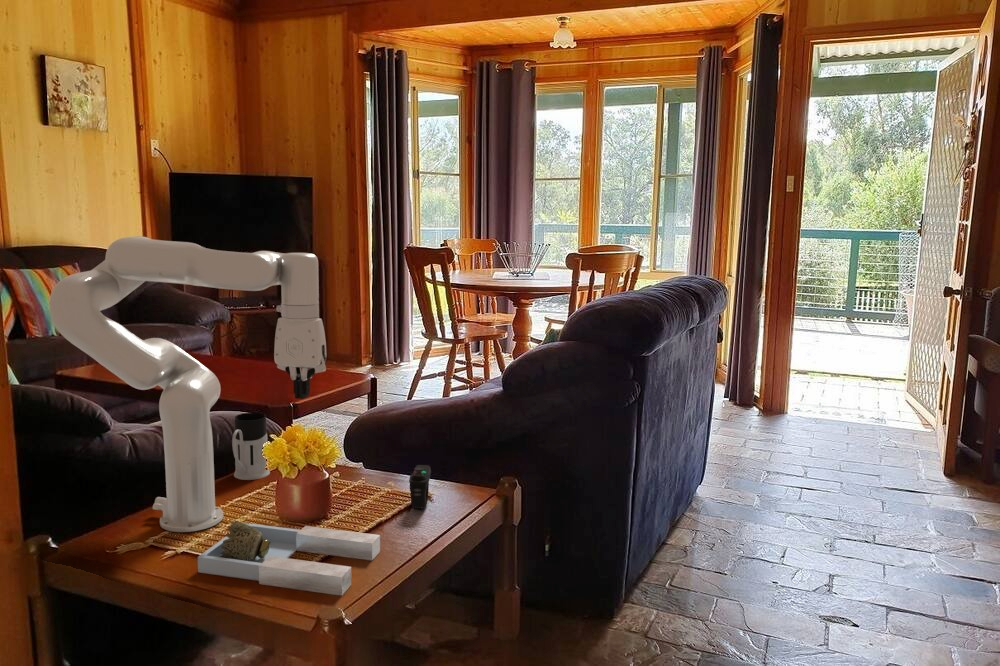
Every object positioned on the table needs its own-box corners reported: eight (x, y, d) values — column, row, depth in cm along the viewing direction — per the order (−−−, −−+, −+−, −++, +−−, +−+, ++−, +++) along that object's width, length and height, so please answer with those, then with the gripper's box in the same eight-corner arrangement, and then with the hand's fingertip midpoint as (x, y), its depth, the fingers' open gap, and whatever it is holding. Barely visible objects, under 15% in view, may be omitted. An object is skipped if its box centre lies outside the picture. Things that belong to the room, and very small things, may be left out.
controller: (407, 515, 168) (407, 472, 166) (414, 494, 180) (414, 454, 178) (426, 516, 168) (427, 473, 166) (432, 495, 180) (432, 455, 178)
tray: (198, 572, 139) (197, 557, 139) (245, 536, 155) (244, 522, 154) (262, 581, 137) (261, 565, 136) (303, 544, 152) (303, 530, 152)
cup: (266, 564, 148) (225, 554, 147) (277, 527, 148) (236, 517, 148) (258, 573, 140) (215, 562, 140) (270, 534, 141) (227, 523, 140)
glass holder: (275, 469, 195) (274, 412, 193) (252, 488, 181) (250, 428, 179) (242, 467, 196) (241, 411, 193) (217, 486, 182) (215, 426, 179)
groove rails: (259, 583, 136) (258, 565, 135) (305, 542, 153) (305, 525, 152) (342, 595, 132) (341, 577, 132) (380, 551, 150) (380, 535, 149)
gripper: (258, 312, 156) (260, 399, 159) (325, 316, 152) (326, 404, 155) (276, 308, 163) (278, 391, 166) (341, 311, 160) (342, 396, 163)
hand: (301, 397), depth 161 cm, fingers closed
